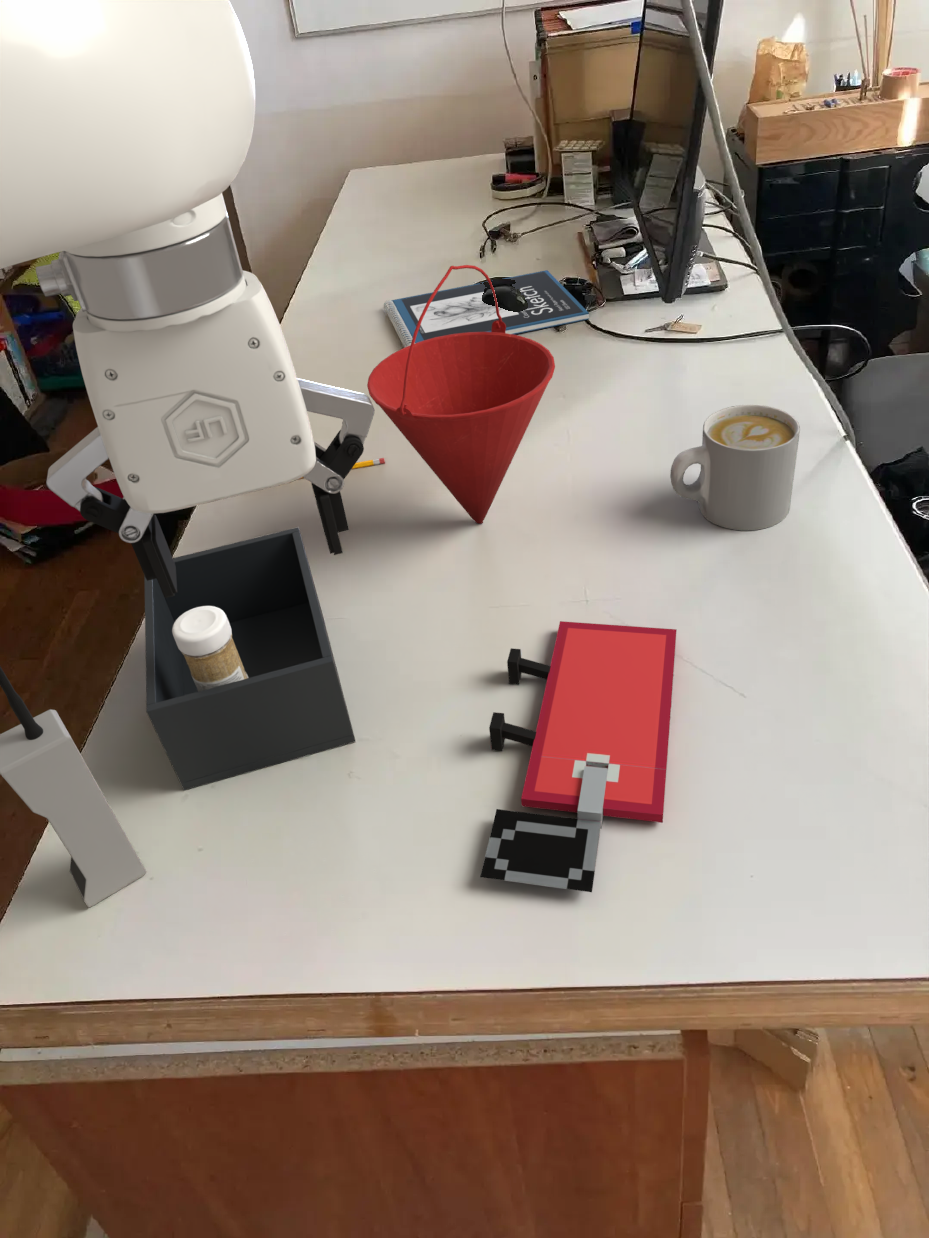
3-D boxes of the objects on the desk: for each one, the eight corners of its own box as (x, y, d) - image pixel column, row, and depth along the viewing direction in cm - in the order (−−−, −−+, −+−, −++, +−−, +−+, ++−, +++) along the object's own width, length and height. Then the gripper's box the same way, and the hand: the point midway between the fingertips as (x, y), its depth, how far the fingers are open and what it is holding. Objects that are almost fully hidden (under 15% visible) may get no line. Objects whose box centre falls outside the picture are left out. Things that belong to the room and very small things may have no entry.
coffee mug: (781, 479, 108) (790, 401, 102) (797, 528, 101) (808, 447, 94) (664, 485, 110) (666, 409, 104) (672, 534, 103) (674, 455, 96)
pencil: (385, 464, 122) (384, 459, 121) (239, 490, 121) (238, 486, 120) (384, 461, 122) (383, 457, 122) (239, 487, 121) (238, 483, 121)
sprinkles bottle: (264, 709, 87) (225, 598, 79) (267, 743, 84) (226, 631, 75) (216, 720, 87) (171, 610, 78) (216, 755, 83) (169, 644, 75)
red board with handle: (457, 881, 71) (656, 908, 68) (453, 859, 69) (657, 885, 66) (523, 629, 93) (675, 640, 90) (521, 607, 92) (677, 618, 88)
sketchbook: (589, 321, 149) (589, 308, 148) (408, 359, 146) (406, 347, 144) (547, 276, 166) (547, 265, 164) (383, 310, 162) (381, 298, 161)
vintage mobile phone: (74, 879, 76) (-73, 654, 60) (132, 846, 78) (4, 619, 62) (89, 910, 73) (-60, 683, 57) (148, 874, 75) (19, 646, 59)
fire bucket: (450, 463, 120) (416, 223, 101) (592, 489, 111) (584, 232, 92) (359, 558, 106) (300, 300, 87) (514, 595, 98) (485, 319, 78)
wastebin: (355, 741, 84) (333, 661, 78) (183, 790, 82) (146, 711, 75) (319, 602, 100) (298, 526, 94) (175, 640, 98) (143, 565, 92)
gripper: (-45, 339, 39) (102, 640, 50) (353, 256, 42) (410, 560, 53) (-22, 282, 45) (105, 564, 56) (326, 212, 47) (383, 495, 58)
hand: (253, 562), depth 54 cm, fingers open, 9 cm apart
